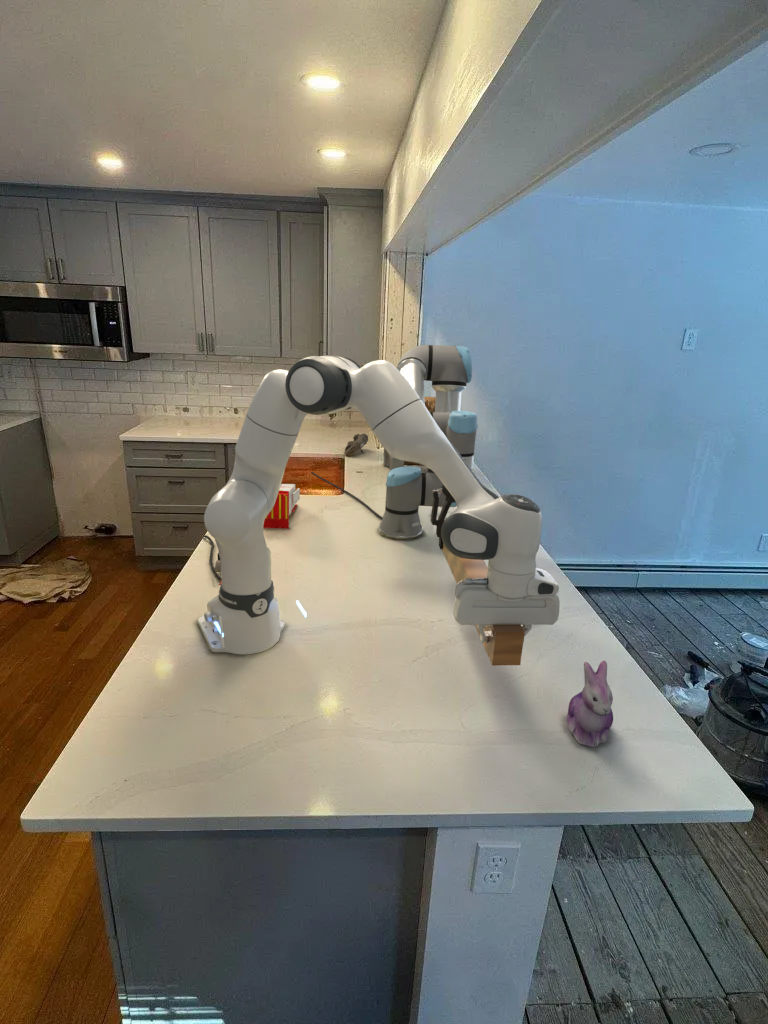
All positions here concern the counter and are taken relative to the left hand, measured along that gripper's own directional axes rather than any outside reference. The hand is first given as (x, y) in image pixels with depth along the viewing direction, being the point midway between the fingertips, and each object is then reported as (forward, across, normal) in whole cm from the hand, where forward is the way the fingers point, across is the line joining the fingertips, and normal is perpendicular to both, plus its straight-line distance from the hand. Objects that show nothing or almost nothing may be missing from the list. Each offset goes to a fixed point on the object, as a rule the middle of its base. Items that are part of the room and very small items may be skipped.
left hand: (501, 641), depth 113 cm
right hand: (+2, 0, +52) cm, 52 cm away
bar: (+3, 0, +26) cm, 26 cm away
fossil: (+14, -22, +206) cm, 207 cm away
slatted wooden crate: (+14, +8, +168) cm, 168 cm away
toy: (+14, -53, +106) cm, 120 cm away
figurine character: (+14, -63, +60) cm, 88 cm away
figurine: (+13, +16, -11) cm, 23 cm away
